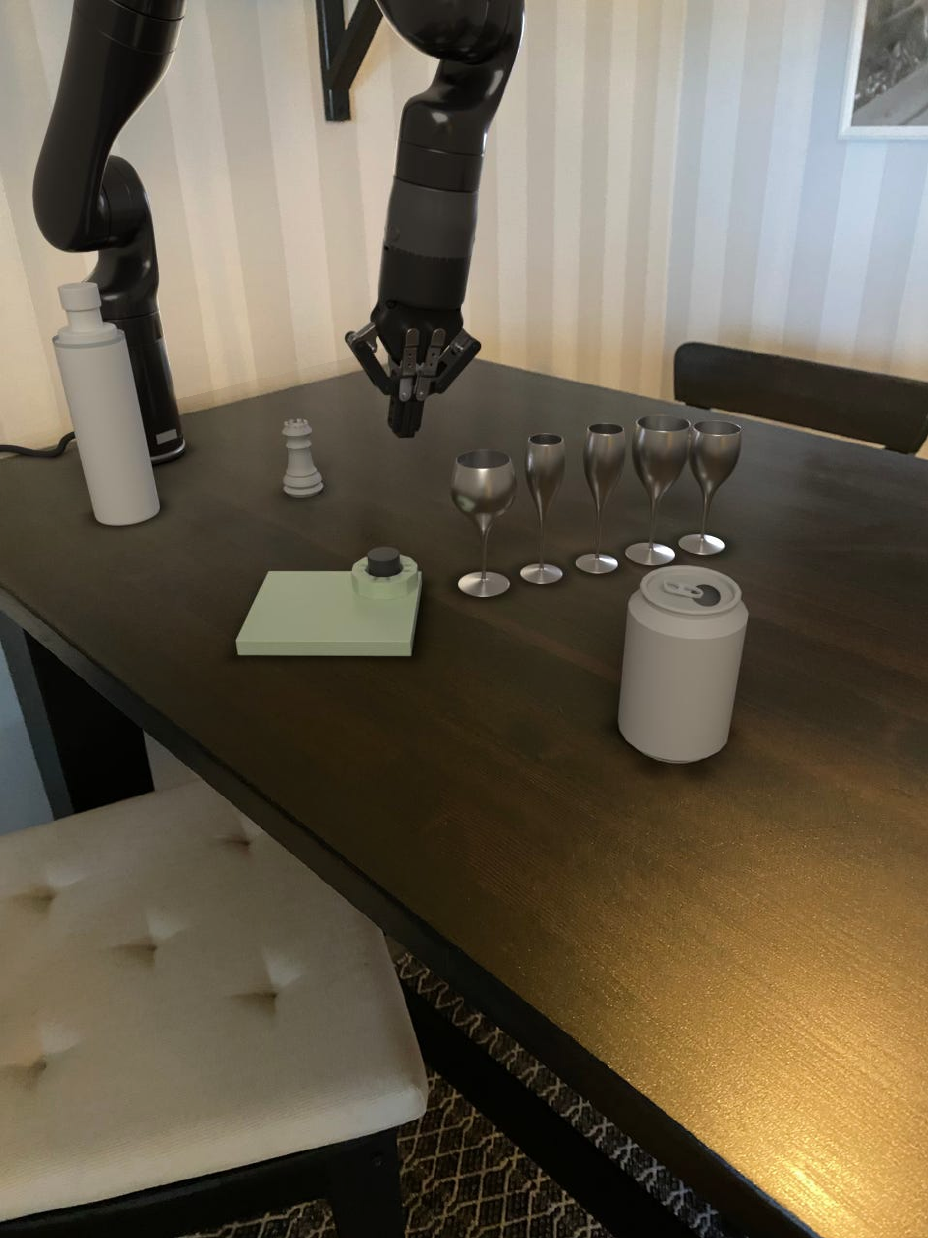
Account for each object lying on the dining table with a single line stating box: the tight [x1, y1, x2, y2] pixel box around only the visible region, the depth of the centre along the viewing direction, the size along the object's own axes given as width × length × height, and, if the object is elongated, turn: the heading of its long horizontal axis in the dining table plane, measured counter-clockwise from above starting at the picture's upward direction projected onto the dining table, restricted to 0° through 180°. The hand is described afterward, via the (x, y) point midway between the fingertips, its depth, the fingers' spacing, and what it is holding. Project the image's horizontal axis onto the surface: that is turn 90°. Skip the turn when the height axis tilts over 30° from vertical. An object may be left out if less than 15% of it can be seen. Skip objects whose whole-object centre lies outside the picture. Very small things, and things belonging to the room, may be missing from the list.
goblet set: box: [449, 414, 742, 598], centre depth 82 cm, size 28×6×13 cm, turn 109°
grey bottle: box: [51, 281, 161, 527], centre depth 91 cm, size 7×7×25 cm
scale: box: [235, 554, 423, 657], centre depth 77 cm, size 14×12×3 cm
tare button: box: [366, 546, 401, 577], centre depth 78 cm, size 3×3×2 cm
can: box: [617, 564, 750, 764], centre depth 60 cm, size 8×8×12 cm
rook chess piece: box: [281, 418, 324, 499], centre depth 100 cm, size 4×4×8 cm
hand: (402, 434), depth 84 cm, fingers closed
